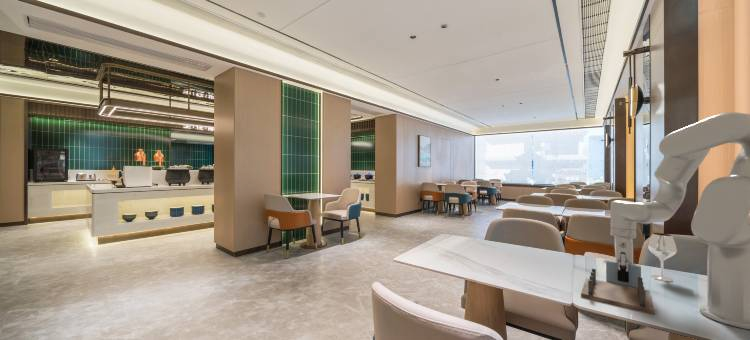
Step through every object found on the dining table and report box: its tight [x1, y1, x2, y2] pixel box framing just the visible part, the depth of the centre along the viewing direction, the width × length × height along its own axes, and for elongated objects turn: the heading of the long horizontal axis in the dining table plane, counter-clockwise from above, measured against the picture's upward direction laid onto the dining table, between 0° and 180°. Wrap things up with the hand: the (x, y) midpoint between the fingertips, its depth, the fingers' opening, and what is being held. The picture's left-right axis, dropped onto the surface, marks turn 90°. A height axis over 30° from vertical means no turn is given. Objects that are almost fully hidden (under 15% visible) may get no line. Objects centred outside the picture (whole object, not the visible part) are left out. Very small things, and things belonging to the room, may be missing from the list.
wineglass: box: [647, 232, 678, 282], centre depth 114 cm, size 8×8×18 cm
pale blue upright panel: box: [605, 259, 642, 288], centre depth 109 cm, size 10×2×8 cm, turn 49°
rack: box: [580, 268, 655, 315], centre depth 98 cm, size 18×19×6 cm
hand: (623, 278), depth 109 cm, fingers open, 5 cm apart
